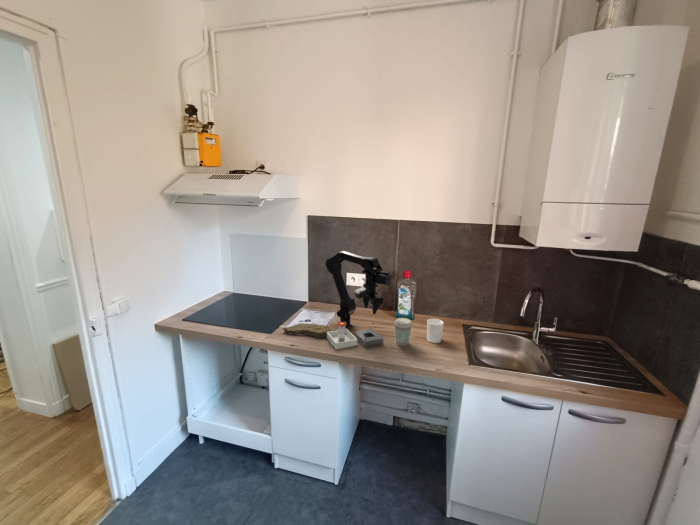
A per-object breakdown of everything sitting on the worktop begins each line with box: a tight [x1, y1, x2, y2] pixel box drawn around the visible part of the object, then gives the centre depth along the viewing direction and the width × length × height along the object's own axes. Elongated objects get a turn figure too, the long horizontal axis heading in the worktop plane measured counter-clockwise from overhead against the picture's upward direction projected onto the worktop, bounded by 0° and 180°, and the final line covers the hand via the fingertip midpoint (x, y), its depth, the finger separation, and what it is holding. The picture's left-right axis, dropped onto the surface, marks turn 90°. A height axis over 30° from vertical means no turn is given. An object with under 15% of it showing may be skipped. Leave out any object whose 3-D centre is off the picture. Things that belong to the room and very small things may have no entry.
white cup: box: [426, 318, 444, 344], centre depth 154 cm, size 8×8×10 cm
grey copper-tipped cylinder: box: [336, 321, 346, 342], centre depth 151 cm, size 4×4×9 cm
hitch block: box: [354, 328, 384, 348], centre depth 154 cm, size 12×10×3 cm
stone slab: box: [282, 322, 333, 339], centre depth 162 cm, size 27×12×5 cm, turn 81°
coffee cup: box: [393, 317, 413, 347], centre depth 150 cm, size 8×9×12 cm
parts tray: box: [326, 328, 358, 350], centre depth 152 cm, size 13×11×3 cm
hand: (369, 311), depth 159 cm, fingers open, 9 cm apart
